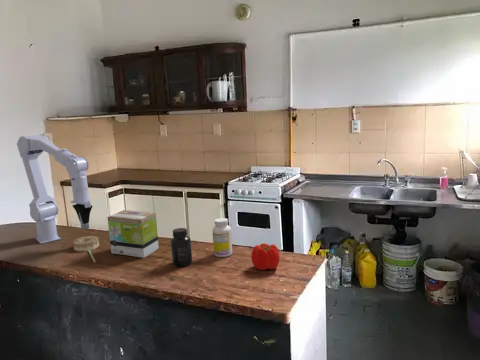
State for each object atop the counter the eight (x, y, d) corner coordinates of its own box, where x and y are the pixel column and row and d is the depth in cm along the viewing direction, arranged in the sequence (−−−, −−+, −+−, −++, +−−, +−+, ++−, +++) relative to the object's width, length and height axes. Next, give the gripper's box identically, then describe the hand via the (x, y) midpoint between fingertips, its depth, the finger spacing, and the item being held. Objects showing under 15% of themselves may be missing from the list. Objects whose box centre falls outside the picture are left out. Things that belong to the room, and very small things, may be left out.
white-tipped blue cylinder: (87, 226, 163) (85, 209, 162) (90, 228, 161) (88, 211, 160) (80, 228, 161) (77, 211, 160) (82, 230, 159) (80, 212, 158)
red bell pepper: (247, 267, 133) (245, 245, 132) (267, 260, 139) (266, 239, 137) (265, 276, 126) (264, 253, 125) (286, 268, 131) (286, 246, 130)
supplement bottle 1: (195, 260, 141) (193, 227, 139) (187, 268, 135) (184, 233, 133) (178, 258, 144) (175, 226, 142) (168, 266, 137) (165, 232, 135)
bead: (71, 247, 162) (70, 239, 161) (94, 241, 167) (93, 234, 166) (78, 253, 155) (77, 245, 154) (102, 247, 160) (101, 239, 159)
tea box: (110, 254, 151) (106, 216, 149) (127, 245, 161) (123, 209, 158) (144, 258, 146) (140, 218, 143) (159, 249, 155) (156, 211, 152)
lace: (88, 251, 156) (87, 250, 156) (89, 250, 157) (89, 249, 156) (93, 262, 144) (93, 261, 144) (95, 262, 144) (95, 261, 144)
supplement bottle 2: (221, 249, 151) (219, 216, 148) (236, 252, 147) (234, 218, 145) (210, 255, 145) (207, 221, 143) (225, 259, 142) (223, 223, 139)
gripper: (63, 187, 161) (68, 221, 164) (75, 192, 150) (79, 228, 153) (82, 185, 166) (86, 217, 168) (94, 189, 154) (98, 224, 157)
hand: (84, 222), depth 161 cm, fingers closed on white-tipped blue cylinder, 3 cm apart
